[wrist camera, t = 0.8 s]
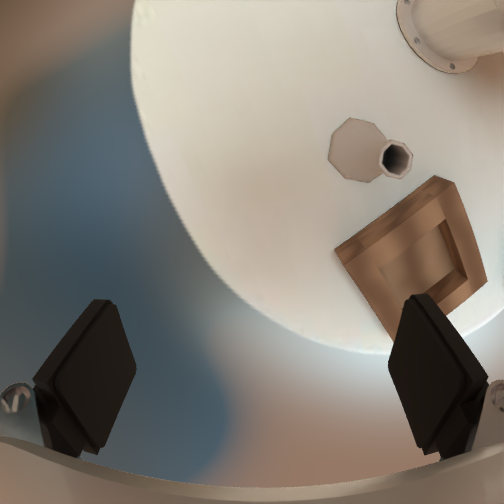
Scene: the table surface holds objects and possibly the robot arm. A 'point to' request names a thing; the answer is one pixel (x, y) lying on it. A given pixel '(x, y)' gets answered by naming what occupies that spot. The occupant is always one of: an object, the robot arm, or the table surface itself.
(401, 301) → the condiment dock
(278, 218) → the table surface
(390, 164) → the flask
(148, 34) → the table surface
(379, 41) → the table surface
